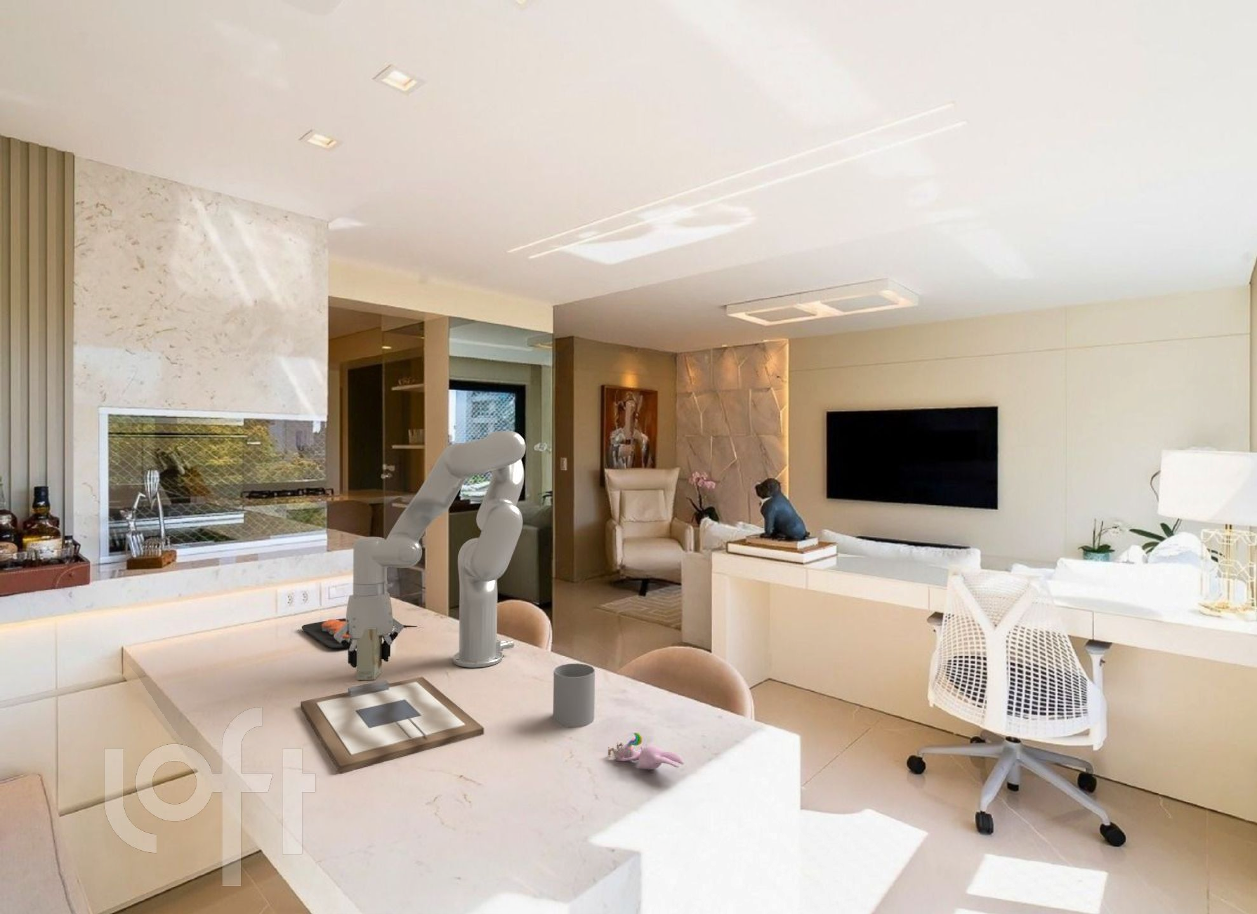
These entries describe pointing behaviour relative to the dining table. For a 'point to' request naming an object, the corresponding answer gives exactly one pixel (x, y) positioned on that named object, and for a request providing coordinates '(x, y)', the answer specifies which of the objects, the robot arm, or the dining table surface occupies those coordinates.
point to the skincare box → (369, 655)
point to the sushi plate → (329, 631)
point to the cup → (574, 695)
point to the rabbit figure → (644, 754)
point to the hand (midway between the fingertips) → (369, 662)
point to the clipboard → (386, 722)
